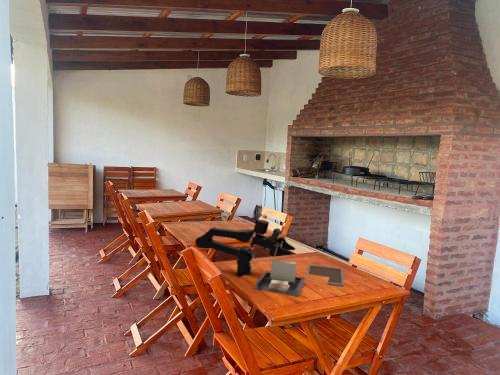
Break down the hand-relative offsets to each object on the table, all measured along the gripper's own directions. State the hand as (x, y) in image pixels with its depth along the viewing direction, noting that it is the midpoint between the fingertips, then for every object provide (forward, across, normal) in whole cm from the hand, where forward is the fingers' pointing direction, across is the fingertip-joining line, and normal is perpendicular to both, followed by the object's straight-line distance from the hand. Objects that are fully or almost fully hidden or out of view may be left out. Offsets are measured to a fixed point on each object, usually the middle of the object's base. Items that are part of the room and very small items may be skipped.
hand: (293, 251), depth 197 cm
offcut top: (-1, -13, +14) cm, 19 cm away
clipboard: (+18, +20, +14) cm, 30 cm away
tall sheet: (0, -6, +15) cm, 17 cm away
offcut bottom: (0, -13, +15) cm, 20 cm away
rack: (0, -10, +16) cm, 19 cm away
